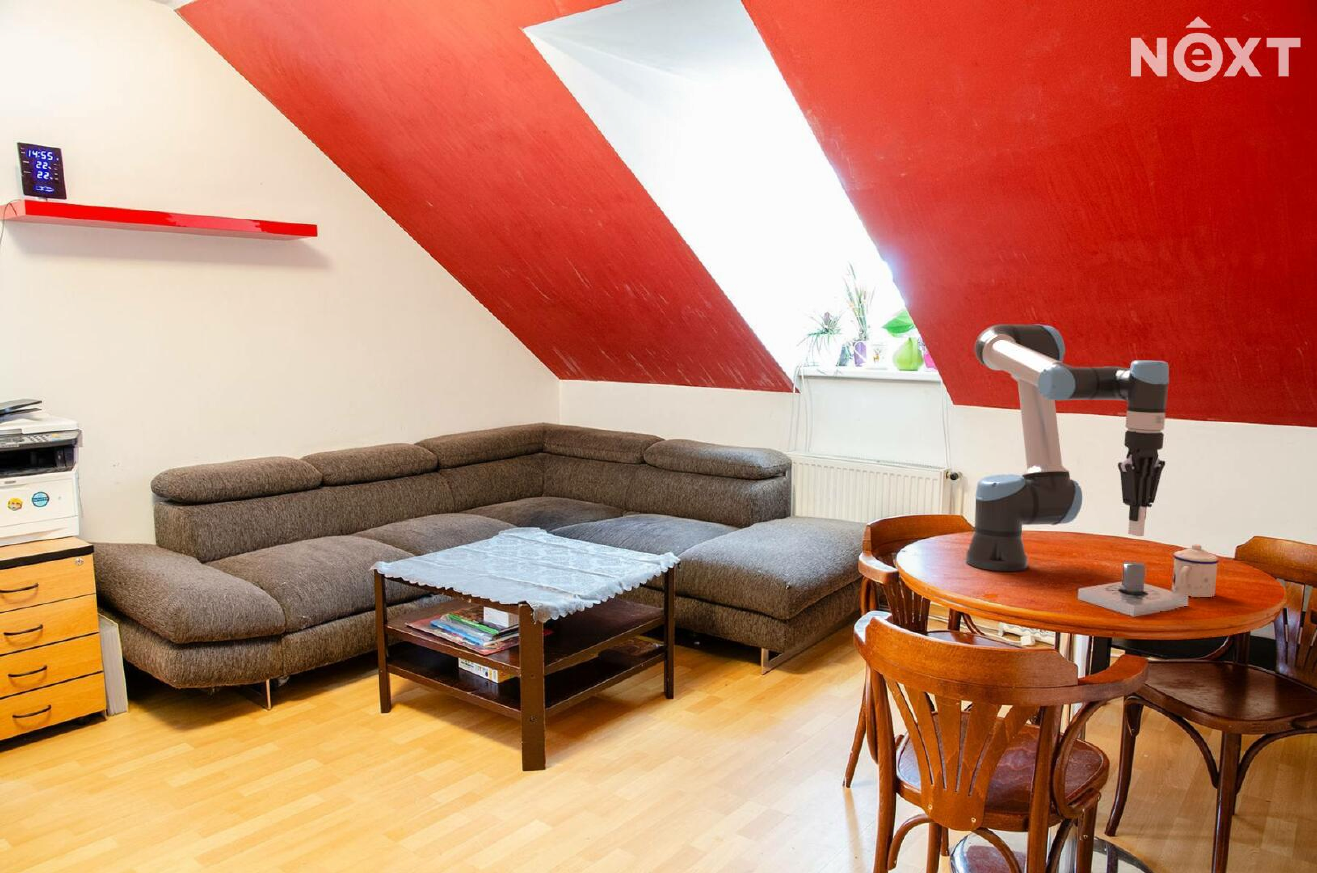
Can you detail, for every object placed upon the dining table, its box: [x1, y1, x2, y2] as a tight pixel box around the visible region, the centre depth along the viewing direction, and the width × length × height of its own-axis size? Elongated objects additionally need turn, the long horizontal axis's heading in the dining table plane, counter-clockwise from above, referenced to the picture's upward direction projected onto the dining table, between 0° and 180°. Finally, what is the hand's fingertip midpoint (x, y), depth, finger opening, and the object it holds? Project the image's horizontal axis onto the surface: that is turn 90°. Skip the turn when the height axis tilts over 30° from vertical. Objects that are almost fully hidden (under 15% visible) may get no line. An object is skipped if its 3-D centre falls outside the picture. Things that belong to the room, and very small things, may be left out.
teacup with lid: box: [1171, 543, 1219, 598], centre depth 209 cm, size 12×9×12 cm
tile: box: [1077, 581, 1189, 617], centre depth 203 cm, size 14×18×2 cm
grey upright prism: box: [1121, 561, 1146, 596], centre depth 202 cm, size 4×4×9 cm
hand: (1135, 534), depth 201 cm, fingers closed
